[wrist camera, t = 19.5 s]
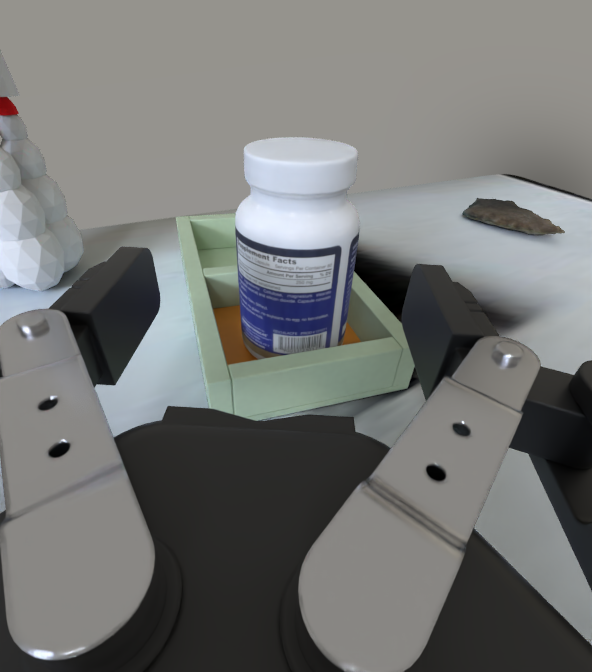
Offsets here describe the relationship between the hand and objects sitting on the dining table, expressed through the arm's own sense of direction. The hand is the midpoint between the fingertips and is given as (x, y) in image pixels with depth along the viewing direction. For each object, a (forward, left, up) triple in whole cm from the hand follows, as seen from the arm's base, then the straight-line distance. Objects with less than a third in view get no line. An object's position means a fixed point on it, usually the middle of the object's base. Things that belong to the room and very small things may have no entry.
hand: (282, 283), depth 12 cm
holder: (+2, +11, -8) cm, 14 cm away
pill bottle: (+2, +6, -8) cm, 10 cm away
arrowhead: (+31, +20, -8) cm, 38 cm away
